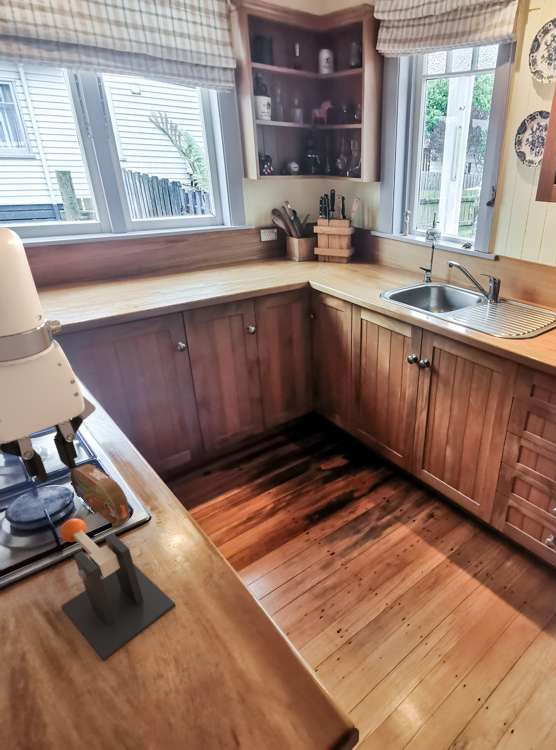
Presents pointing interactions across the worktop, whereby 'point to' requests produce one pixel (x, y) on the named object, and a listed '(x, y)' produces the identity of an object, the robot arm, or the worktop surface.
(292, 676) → the worktop surface
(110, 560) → the lever with orange knob
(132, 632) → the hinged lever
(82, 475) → the mottled brown oval slab
